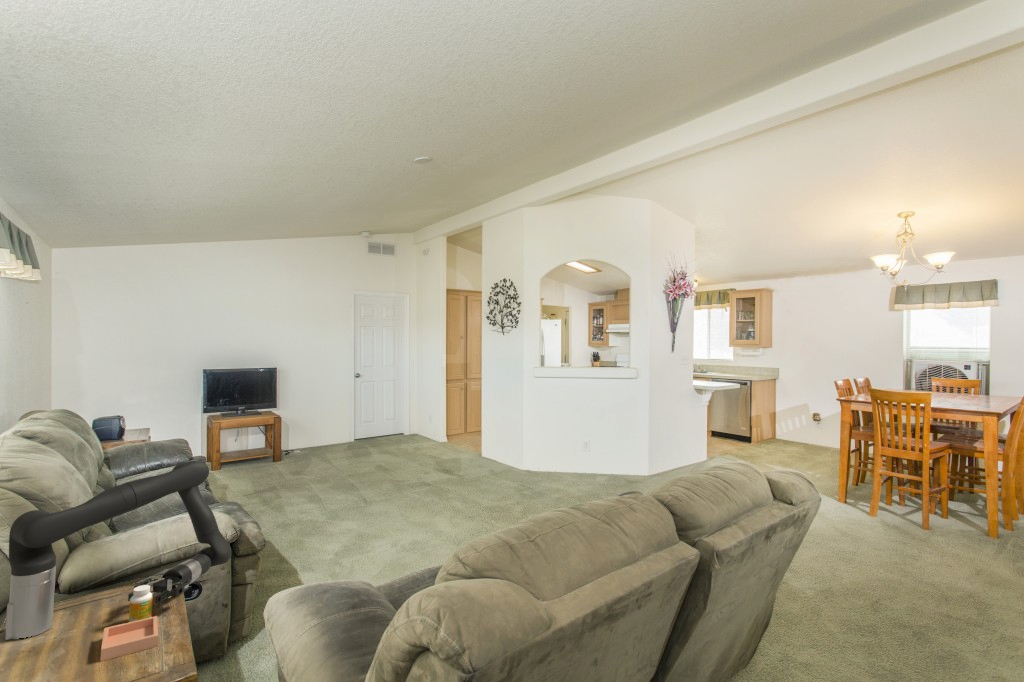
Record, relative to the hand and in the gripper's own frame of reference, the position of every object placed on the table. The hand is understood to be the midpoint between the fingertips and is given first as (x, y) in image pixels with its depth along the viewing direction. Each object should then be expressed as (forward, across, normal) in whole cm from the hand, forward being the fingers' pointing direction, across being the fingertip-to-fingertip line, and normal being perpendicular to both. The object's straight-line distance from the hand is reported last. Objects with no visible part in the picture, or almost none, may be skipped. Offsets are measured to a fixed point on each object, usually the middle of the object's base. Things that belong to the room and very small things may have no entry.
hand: (142, 599), depth 148 cm
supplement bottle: (+1, 0, +6) cm, 6 cm away
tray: (+11, +6, +6) cm, 14 cm away
